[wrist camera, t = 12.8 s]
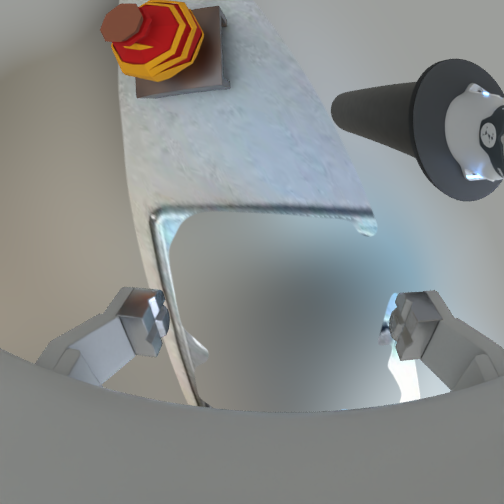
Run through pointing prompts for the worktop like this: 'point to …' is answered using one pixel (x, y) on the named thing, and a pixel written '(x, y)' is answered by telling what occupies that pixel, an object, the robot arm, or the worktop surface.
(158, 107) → the worktop surface
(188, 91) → the shelf
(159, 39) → the potion bottle
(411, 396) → the worktop surface
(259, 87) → the worktop surface
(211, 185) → the worktop surface
